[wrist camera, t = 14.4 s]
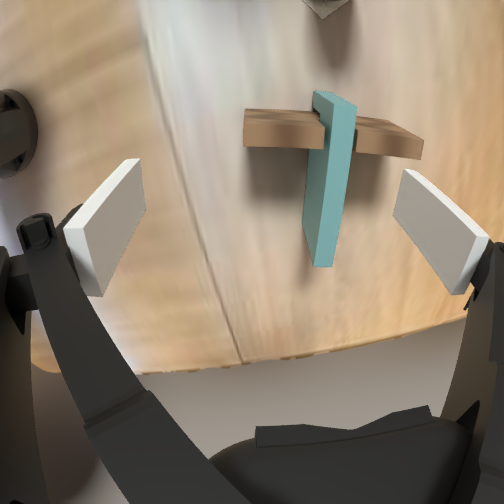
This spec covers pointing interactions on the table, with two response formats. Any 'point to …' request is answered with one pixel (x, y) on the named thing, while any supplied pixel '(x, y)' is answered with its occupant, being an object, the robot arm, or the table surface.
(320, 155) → the teal plate
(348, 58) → the table surface
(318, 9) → the condiment
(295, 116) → the walnut plate
